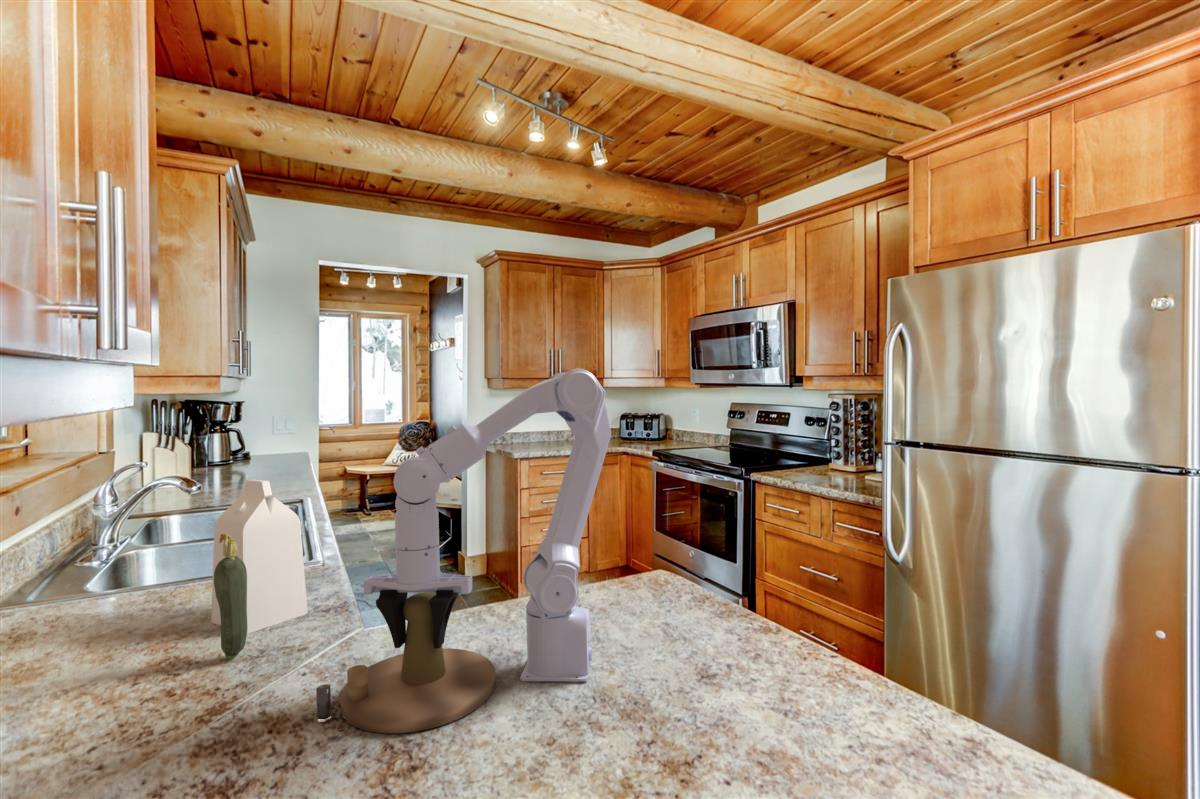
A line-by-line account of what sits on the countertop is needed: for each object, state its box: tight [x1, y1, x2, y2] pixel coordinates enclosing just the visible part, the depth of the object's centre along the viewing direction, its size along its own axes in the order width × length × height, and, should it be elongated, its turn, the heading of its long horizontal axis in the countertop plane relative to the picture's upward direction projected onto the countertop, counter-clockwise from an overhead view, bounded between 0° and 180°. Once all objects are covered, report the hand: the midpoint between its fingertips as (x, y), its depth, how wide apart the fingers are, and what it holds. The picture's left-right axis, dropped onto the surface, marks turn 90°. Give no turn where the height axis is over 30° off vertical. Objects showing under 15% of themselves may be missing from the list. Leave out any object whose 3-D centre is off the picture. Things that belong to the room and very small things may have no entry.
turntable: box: [340, 648, 496, 734], centre depth 78 cm, size 20×20×5 cm
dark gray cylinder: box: [315, 683, 332, 719], centre depth 77 cm, size 17×14×4 cm
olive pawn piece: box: [401, 592, 446, 685], centre depth 79 cm, size 6×6×11 cm
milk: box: [211, 478, 309, 635], centre depth 108 cm, size 12×12×26 cm
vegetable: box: [214, 533, 248, 661], centre depth 89 cm, size 4×4×20 cm
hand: (419, 645), depth 78 cm, fingers closed on olive pawn piece, 5 cm apart
